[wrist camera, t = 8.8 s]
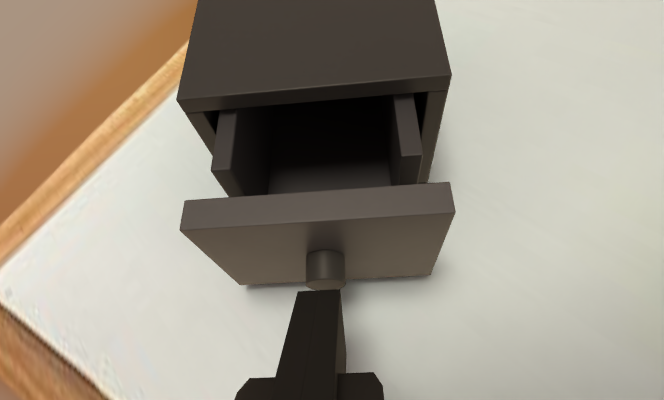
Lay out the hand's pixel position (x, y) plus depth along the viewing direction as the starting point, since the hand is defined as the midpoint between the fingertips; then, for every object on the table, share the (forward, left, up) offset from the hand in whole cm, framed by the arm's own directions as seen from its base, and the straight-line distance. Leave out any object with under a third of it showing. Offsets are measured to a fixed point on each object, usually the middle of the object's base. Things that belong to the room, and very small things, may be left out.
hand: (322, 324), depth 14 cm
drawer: (+1, -8, -4) cm, 9 cm away
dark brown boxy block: (+2, -14, -5) cm, 15 cm away
